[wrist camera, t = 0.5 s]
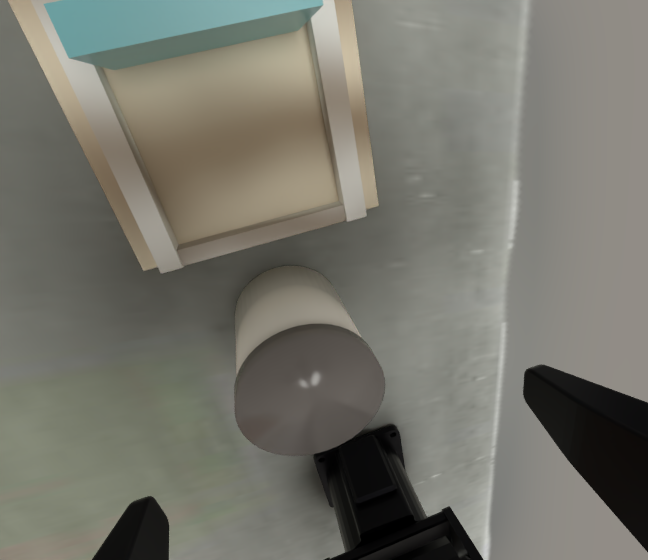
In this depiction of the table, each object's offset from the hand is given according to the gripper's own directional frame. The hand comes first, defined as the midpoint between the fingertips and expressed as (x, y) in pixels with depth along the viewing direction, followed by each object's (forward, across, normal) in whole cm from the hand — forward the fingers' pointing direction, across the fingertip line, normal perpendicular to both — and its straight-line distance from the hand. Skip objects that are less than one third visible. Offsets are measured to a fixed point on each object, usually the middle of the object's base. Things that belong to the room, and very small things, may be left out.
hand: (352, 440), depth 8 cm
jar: (+12, +1, +3) cm, 13 cm away
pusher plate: (+11, +1, -11) cm, 16 cm away
